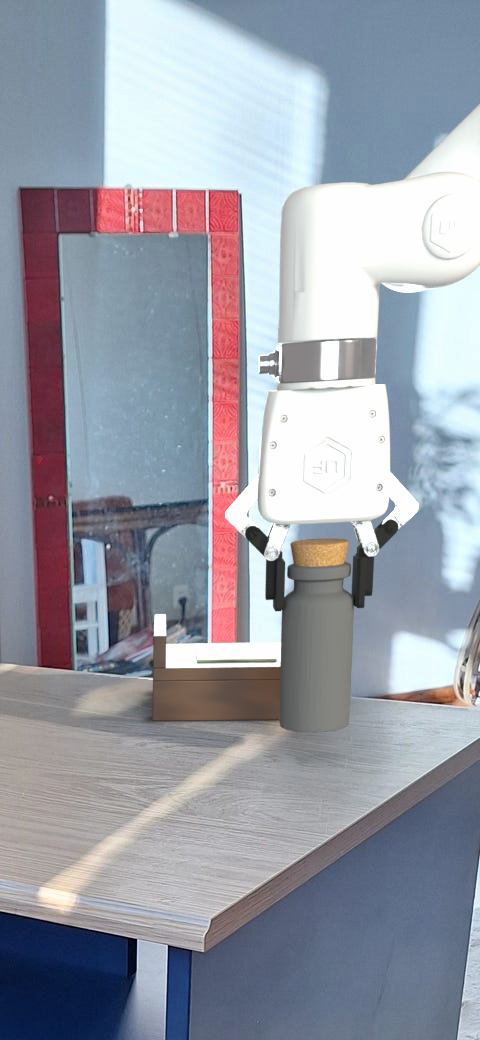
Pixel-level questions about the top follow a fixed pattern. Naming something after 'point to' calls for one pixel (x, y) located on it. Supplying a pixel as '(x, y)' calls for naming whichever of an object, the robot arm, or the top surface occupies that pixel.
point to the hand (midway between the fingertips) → (317, 605)
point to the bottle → (317, 639)
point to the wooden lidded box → (214, 679)
